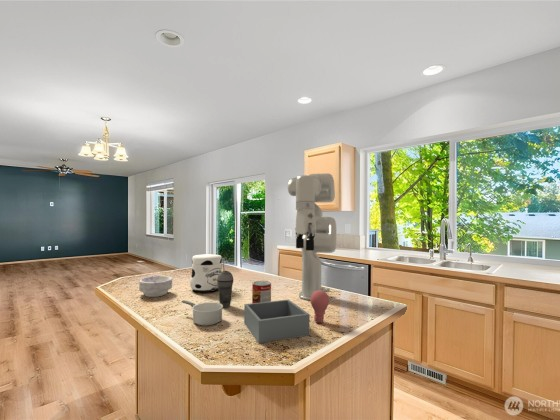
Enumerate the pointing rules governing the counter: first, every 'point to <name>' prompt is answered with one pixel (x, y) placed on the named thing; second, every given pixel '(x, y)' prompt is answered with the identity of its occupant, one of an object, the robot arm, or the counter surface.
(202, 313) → the saucepan
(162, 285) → the paper bowls
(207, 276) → the milk container
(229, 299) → the beverage cup
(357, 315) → the counter surface
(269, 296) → the canned food
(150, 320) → the counter surface
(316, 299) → the pink rounded bulb shape
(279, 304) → the bin
